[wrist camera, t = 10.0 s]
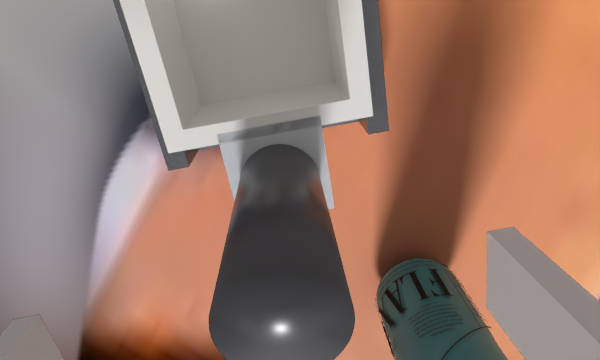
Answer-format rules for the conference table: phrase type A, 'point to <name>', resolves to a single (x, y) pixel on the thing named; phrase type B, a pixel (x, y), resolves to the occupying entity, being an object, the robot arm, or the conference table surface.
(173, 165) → the bay
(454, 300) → the beverage bottle
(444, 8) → the conference table surface
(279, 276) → the open tray with handle
